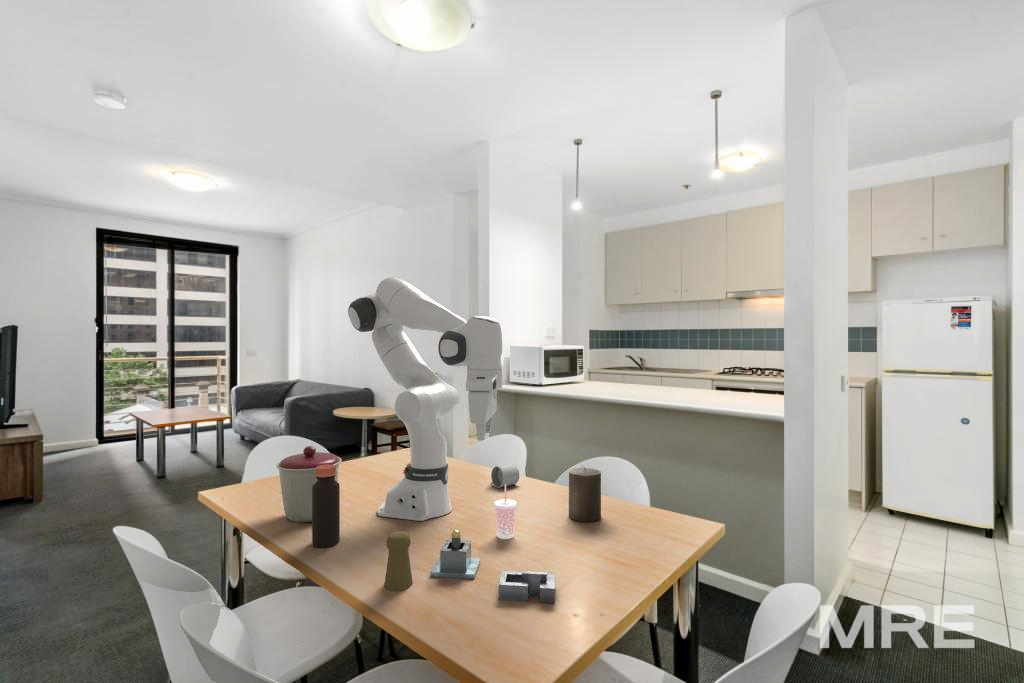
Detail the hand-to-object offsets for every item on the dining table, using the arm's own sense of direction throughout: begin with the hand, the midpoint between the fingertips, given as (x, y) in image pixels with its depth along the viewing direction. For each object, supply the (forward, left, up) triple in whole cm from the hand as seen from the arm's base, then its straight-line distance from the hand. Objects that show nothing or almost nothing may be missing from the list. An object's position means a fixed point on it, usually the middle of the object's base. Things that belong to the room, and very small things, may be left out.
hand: (484, 436), depth 125 cm
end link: (-5, -10, -28) cm, 30 cm away
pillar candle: (+26, +28, -29) cm, 48 cm away
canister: (-56, +19, -29) cm, 66 cm away
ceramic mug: (-2, +58, -29) cm, 65 cm away
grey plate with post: (-5, -10, -29) cm, 31 cm away
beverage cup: (+4, +11, -29) cm, 32 cm away
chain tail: (+11, -19, -29) cm, 37 cm away
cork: (-16, -18, -29) cm, 38 cm away
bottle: (-42, +1, -29) cm, 51 cm away
